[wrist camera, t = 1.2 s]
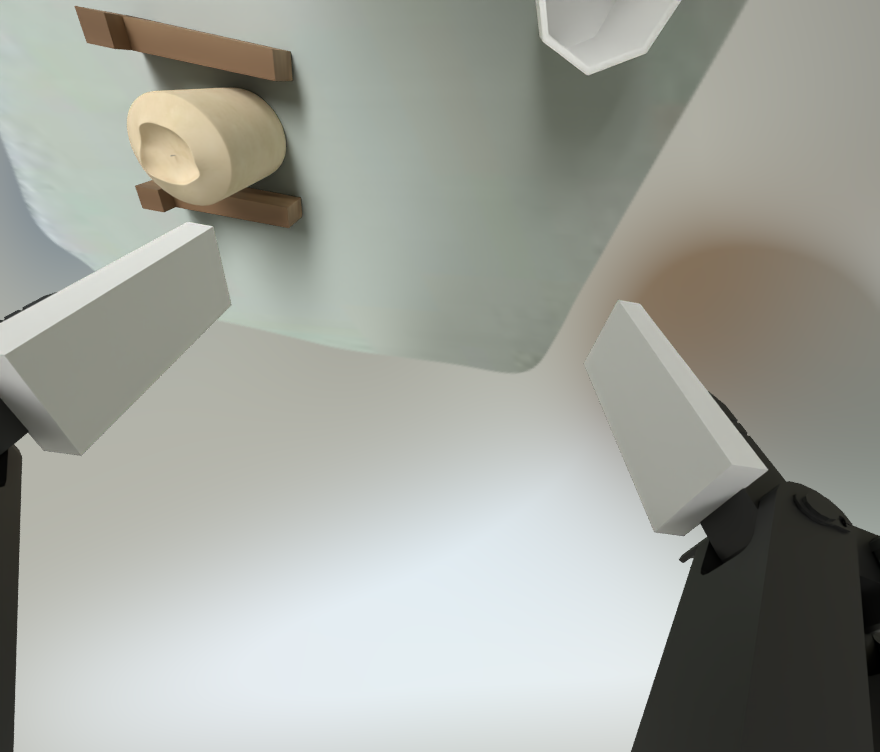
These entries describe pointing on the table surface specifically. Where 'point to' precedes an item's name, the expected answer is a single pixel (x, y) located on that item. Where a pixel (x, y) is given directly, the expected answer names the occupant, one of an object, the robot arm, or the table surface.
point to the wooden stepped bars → (210, 53)
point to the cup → (601, 29)
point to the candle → (205, 141)
